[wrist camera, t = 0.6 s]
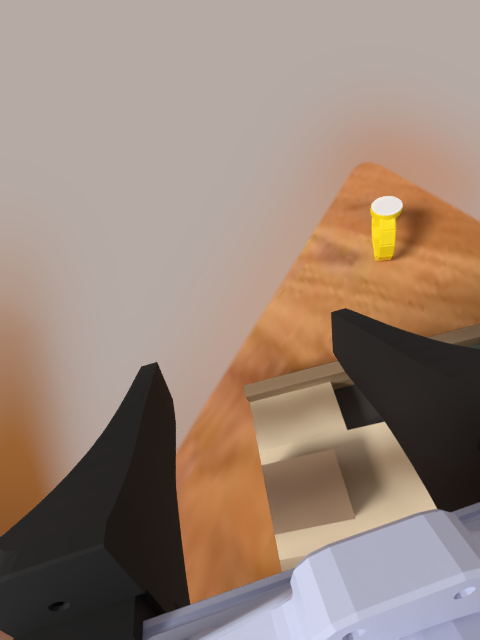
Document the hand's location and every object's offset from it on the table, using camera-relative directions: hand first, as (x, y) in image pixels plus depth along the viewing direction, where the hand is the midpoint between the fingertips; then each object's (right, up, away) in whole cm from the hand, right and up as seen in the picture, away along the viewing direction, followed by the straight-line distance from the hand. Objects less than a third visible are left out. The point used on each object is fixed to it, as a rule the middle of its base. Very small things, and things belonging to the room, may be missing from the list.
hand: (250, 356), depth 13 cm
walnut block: (+5, -11, +10) cm, 16 cm away
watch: (+15, +9, +22) cm, 28 cm away
